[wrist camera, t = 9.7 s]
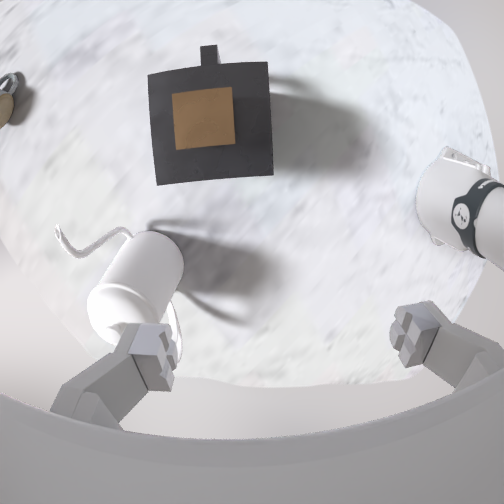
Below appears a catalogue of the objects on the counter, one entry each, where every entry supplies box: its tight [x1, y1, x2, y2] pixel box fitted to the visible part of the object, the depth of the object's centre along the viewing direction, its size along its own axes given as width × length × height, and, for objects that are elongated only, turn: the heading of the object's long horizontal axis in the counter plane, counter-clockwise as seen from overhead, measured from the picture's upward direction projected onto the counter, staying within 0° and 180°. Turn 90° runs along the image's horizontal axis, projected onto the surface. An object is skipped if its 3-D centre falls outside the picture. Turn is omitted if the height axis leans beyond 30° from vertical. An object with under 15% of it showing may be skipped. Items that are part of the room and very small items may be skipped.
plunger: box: [172, 87, 235, 150], centre depth 25 cm, size 7×7×19 cm
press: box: [148, 45, 274, 186], centre depth 27 cm, size 10×13×16 cm
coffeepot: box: [55, 224, 184, 363], centre depth 34 cm, size 11×25×19 cm, turn 22°
